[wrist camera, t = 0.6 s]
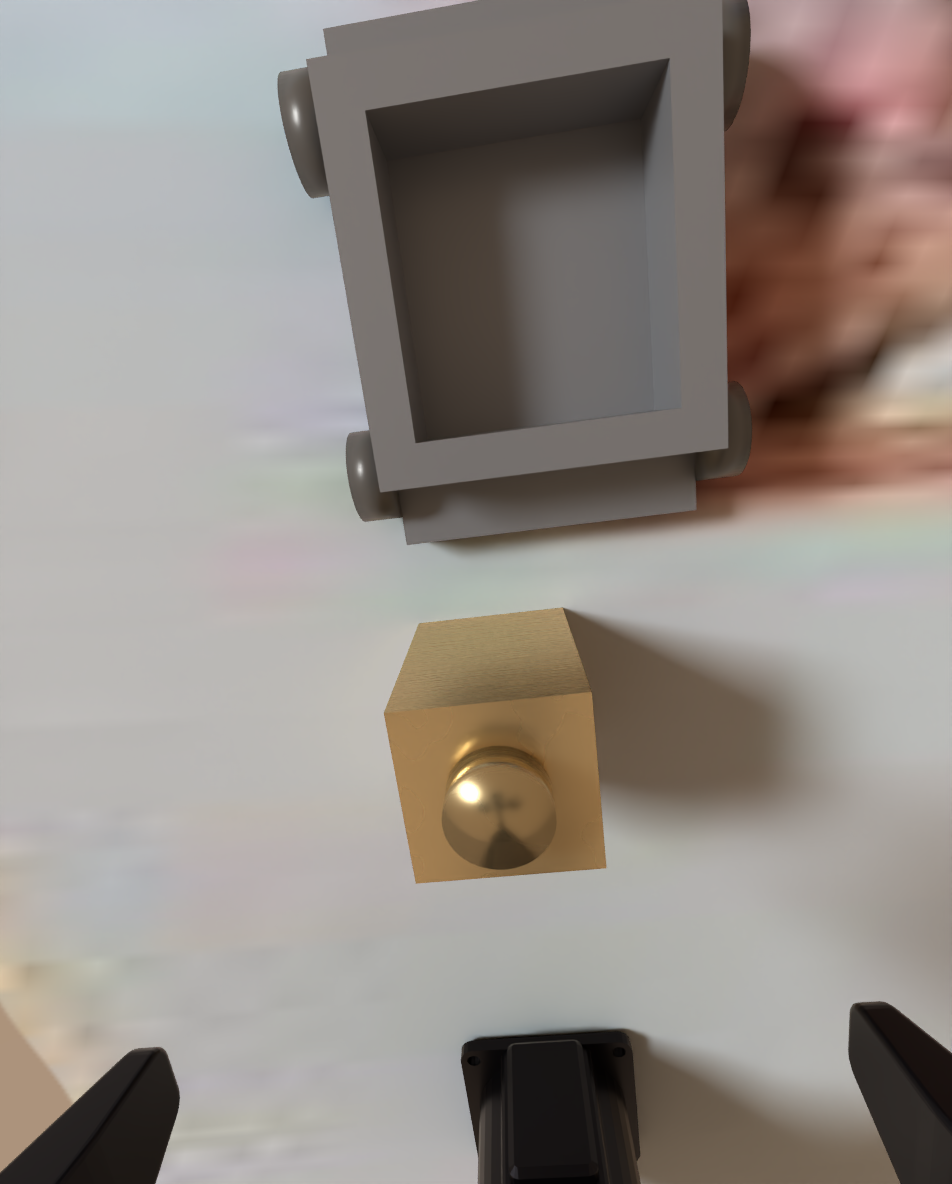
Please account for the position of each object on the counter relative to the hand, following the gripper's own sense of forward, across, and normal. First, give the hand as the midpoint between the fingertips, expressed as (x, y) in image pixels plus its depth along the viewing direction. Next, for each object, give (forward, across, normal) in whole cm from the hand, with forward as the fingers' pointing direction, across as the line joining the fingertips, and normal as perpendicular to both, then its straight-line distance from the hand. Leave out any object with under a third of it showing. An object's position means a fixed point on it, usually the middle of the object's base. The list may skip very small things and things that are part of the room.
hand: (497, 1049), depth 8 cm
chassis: (+12, -2, -11) cm, 16 cm away
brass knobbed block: (+12, 0, 0) cm, 12 cm away
